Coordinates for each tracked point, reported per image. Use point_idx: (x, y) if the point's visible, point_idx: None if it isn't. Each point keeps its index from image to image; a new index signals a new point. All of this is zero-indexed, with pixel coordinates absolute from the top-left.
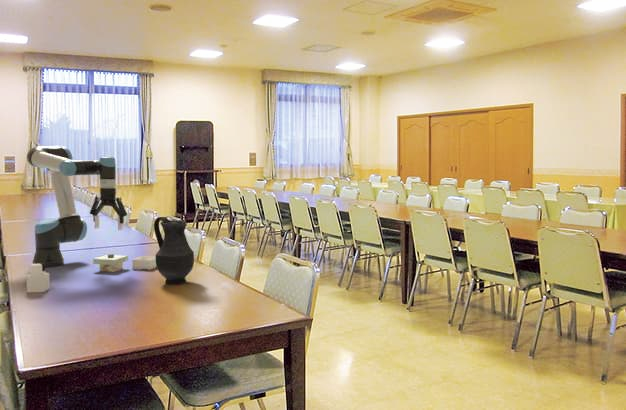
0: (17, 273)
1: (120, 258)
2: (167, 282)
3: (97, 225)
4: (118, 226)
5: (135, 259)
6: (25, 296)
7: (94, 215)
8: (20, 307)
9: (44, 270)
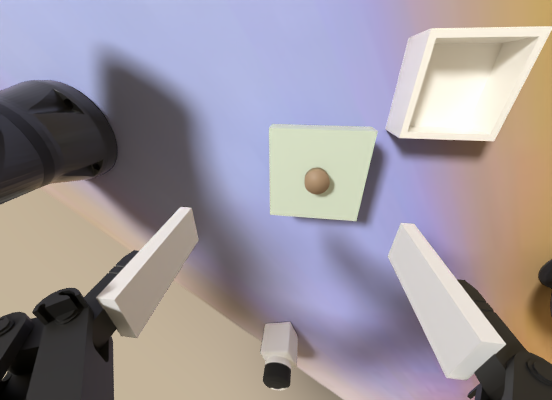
0: (126, 239)
1: (364, 185)
2: (550, 287)
3: (185, 239)
4: (404, 280)
5: (416, 138)
6: None
7: (105, 330)
8: (319, 378)
9: (290, 370)
